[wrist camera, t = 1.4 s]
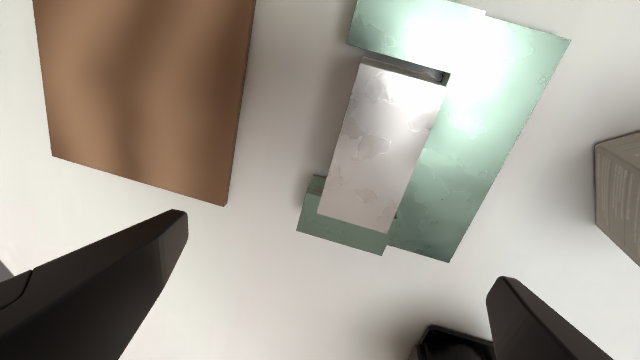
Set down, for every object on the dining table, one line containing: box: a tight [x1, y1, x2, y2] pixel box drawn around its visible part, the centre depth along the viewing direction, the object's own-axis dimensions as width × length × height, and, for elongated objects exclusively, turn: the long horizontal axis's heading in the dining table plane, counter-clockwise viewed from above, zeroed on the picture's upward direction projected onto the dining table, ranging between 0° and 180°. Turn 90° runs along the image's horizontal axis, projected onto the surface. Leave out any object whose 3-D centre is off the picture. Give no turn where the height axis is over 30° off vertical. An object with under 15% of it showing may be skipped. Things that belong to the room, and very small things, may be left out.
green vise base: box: [296, 0, 571, 263], centre depth 19 cm, size 11×19×3 cm, turn 166°
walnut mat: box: [32, 0, 256, 207], centre depth 21 cm, size 14×18×1 cm
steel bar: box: [317, 56, 448, 234], centre depth 18 cm, size 4×8×6 cm, turn 165°
